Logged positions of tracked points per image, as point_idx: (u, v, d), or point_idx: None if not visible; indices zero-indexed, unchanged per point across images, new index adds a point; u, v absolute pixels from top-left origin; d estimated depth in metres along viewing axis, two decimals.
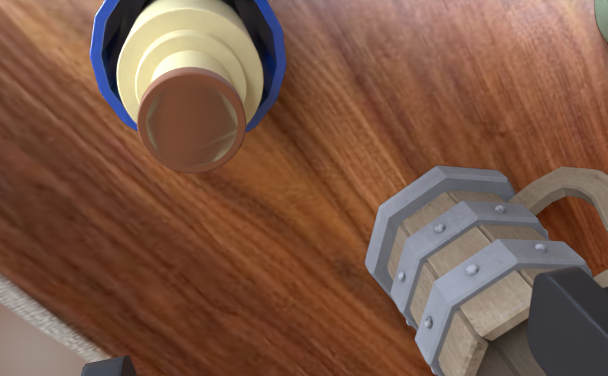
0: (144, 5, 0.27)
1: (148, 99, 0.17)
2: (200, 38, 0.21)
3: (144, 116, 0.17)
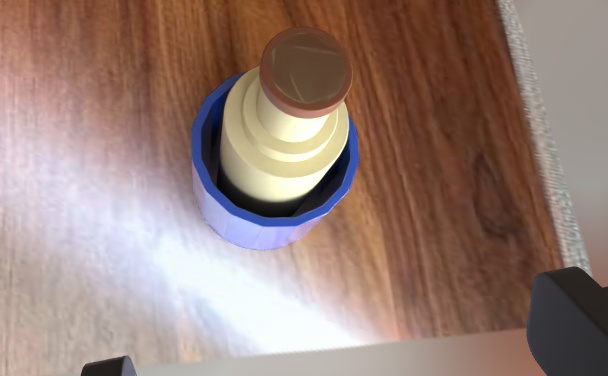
0: (287, 209, 0.31)
1: (328, 104, 0.20)
2: (261, 141, 0.24)
3: (338, 94, 0.20)
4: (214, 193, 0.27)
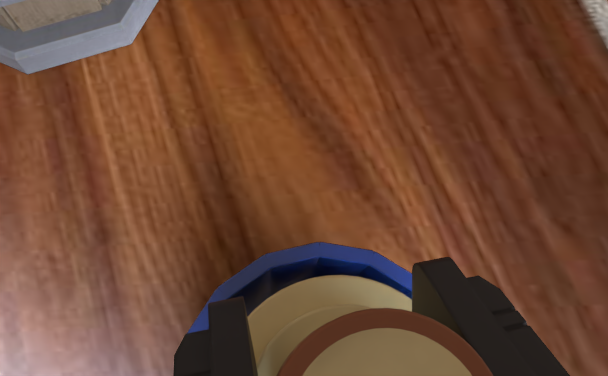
0: None
1: None
2: None
3: None
4: None
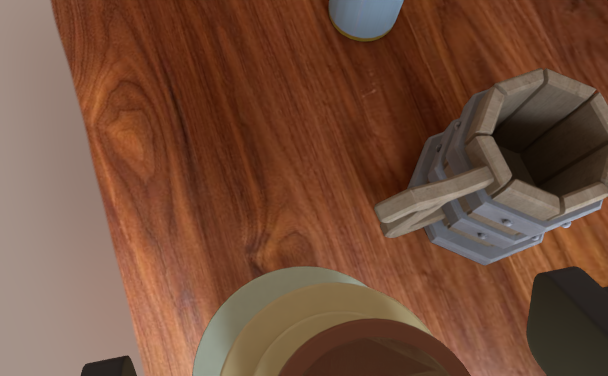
0: None
1: None
2: None
3: None
4: None
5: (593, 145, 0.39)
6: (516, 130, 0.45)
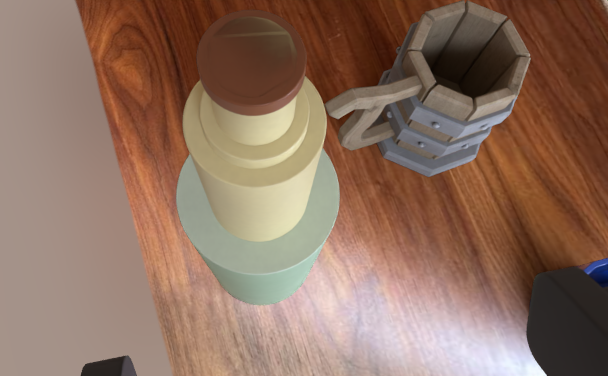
0: (286, 218, 0.28)
1: (283, 92, 0.17)
2: (228, 151, 0.21)
3: (293, 78, 0.17)
4: None
5: (506, 63, 0.48)
6: (452, 61, 0.55)
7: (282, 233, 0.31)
